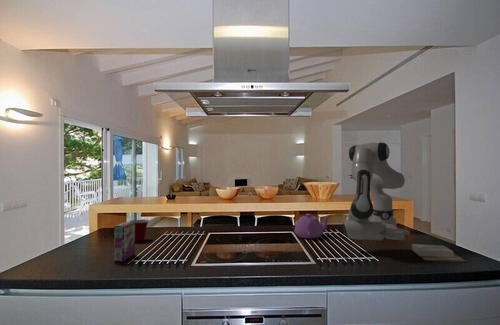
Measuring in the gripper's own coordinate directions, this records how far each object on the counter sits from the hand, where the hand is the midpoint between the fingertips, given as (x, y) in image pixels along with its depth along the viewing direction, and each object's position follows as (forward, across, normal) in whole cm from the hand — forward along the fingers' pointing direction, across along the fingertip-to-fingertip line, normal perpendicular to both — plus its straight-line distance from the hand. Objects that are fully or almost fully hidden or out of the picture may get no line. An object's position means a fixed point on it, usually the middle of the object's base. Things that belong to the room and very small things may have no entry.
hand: (408, 232), depth 137 cm
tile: (+3, 0, +8) cm, 9 cm away
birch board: (+12, 0, +11) cm, 16 cm away
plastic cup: (-146, +1, +11) cm, 146 cm away
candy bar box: (-133, -30, +11) cm, 136 cm away
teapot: (-45, +28, +11) cm, 55 cm away
